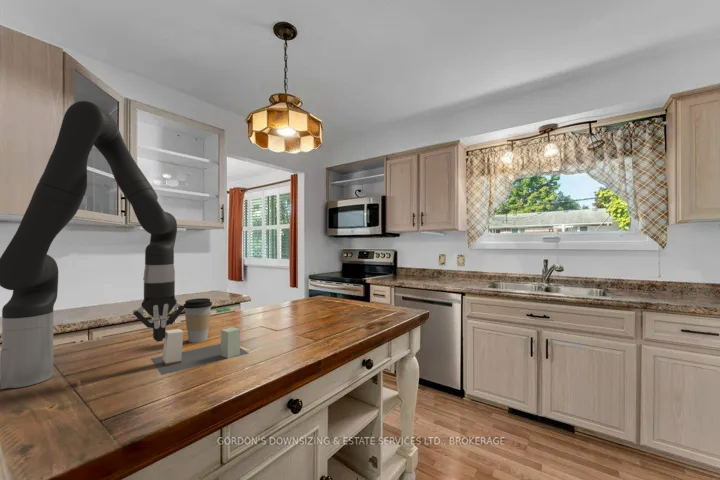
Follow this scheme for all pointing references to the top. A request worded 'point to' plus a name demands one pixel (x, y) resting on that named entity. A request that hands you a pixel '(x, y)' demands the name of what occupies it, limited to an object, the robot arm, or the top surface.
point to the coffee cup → (197, 318)
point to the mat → (193, 359)
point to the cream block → (172, 346)
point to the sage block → (230, 342)
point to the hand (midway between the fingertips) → (159, 340)
